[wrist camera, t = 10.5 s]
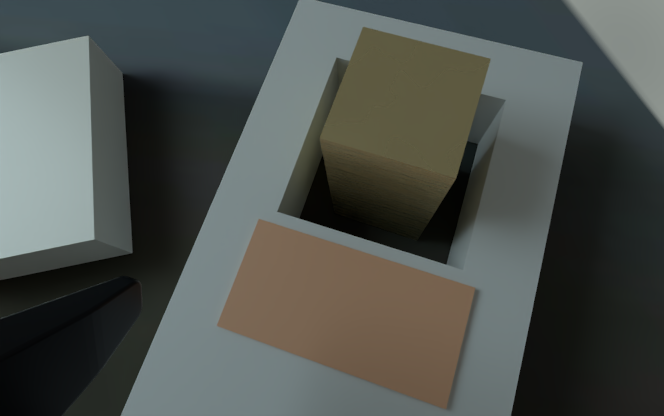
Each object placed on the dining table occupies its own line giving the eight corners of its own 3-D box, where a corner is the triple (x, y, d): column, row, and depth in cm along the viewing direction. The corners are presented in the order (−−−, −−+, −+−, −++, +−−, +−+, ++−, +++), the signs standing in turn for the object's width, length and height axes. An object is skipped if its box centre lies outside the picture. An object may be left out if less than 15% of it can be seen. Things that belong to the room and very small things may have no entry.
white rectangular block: (132, 253, 20) (94, 239, 17) (-35, 287, 20) (-101, 279, 17) (122, 73, 23) (88, 35, 20) (-23, 103, 23) (-79, 69, 20)
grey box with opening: (436, 578, 16) (463, 663, 12) (148, 455, 17) (84, 492, 13) (541, 112, 21) (585, 59, 17) (310, 54, 22) (300, -7, 18)
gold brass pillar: (417, 240, 19) (456, 178, 12) (334, 213, 20) (319, 137, 12) (440, 163, 20) (491, 58, 13) (361, 139, 21) (363, 26, 13)
